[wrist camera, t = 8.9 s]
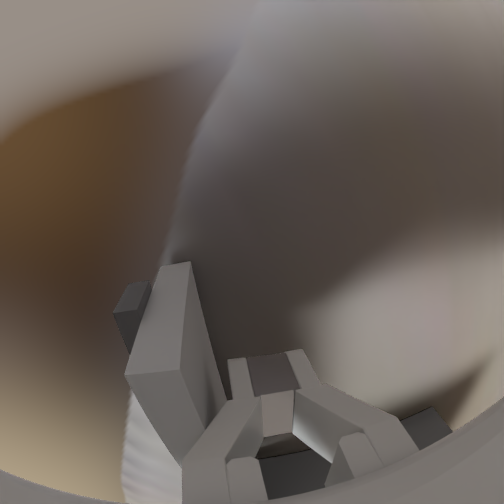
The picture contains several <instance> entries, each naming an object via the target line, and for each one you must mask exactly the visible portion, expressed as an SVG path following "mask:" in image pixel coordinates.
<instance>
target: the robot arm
mask: <svg viewBox="0 0 504 504" xmlns="http://www.w3.org/2000/svg"><path fill="white" fill-rule="evenodd" d="M227 363H228V371H229V378H230V385H231V392H232V399H233V400H227V401H226V403H225V404H224V406H223V407H222V408H221V410H220V411H219V412H218V414H217V415H216V417H215V418H214V419H213V421H212V422H211V423H210V425H209V426H208V427H207V429H206V430H205V431H204V433H203V434H202V435H201V437H200V438H199V439H198V441H197V442H196V443H195V445H194V446H193V447H192V448H191V450H190V451H189V452H188V454H187V455H186V456H185V457H184V459H183V460H182V504H504V397H503V398H501V399H500V400H499V401H497V402H496V403H495V404H494V405H492V406H491V407H490V408H488V409H487V410H485V411H484V412H483V413H481V414H480V415H478V416H477V417H476V418H474V419H473V420H471V421H470V422H468V423H467V424H465V425H464V426H462V427H460V428H459V429H457V430H456V431H454V432H452V433H451V434H449V435H447V436H446V437H444V438H442V439H440V440H439V441H437V442H435V443H433V444H431V445H430V446H428V447H426V448H424V449H422V450H419V449H418V447H417V446H416V444H415V443H414V441H413V440H412V438H411V437H410V435H409V434H408V433H407V431H406V430H405V428H404V427H403V425H402V424H401V422H400V421H399V419H398V418H397V417H396V416H394V415H391V414H389V413H387V412H385V411H382V410H380V409H378V408H376V407H374V406H371V405H369V404H367V403H365V402H363V401H361V400H359V399H357V398H354V397H352V396H350V395H348V394H346V393H344V392H342V391H340V390H338V389H336V388H334V387H332V386H330V385H328V384H322V385H321V383H320V381H319V379H318V377H317V375H316V374H315V372H314V370H313V368H312V366H311V364H310V362H309V360H308V358H307V356H306V354H305V352H304V350H302V349H296V350H291V351H286V352H283V353H276V354H268V355H260V356H252V357H246V359H245V357H244V358H235V359H228V361H227ZM291 432H293V434H294V435H295V436H296V437H298V438H299V439H300V440H301V441H303V442H304V443H305V444H306V445H308V446H309V447H310V448H312V449H313V450H314V451H316V452H317V453H318V454H320V455H321V456H322V457H324V458H325V459H326V460H328V461H329V462H330V463H332V465H331V467H330V470H329V473H328V476H327V479H326V481H325V484H324V485H325V488H321V489H318V490H314V491H310V492H306V493H302V494H297V495H293V496H288V497H283V498H278V499H272V500H268V497H267V493H266V489H265V485H264V481H263V477H262V473H261V469H260V464H259V460H257V459H255V457H256V455H257V452H258V450H259V448H260V446H261V444H262V442H263V439H264V437H268V436H273V435H279V434H285V433H291ZM0 504H127V503H119V502H112V501H106V500H100V499H95V498H90V497H84V496H80V495H76V494H72V493H68V492H64V491H60V490H56V489H53V488H49V487H46V486H43V485H40V484H37V483H34V482H31V481H28V480H25V479H23V478H20V477H17V476H15V475H12V474H10V473H8V472H5V471H3V470H1V469H0Z"/></svg>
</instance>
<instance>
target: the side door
mask: <svg viewBox="0 0 504 504" xmlns="http://www.w3.org/2000/svg"><path fill="white" fill-rule="evenodd" d="M113 315H114V318H115V320H116V323H117V325H118V328H119V330H120V333H121V335H122V338H123V340H124V342H125V345H126V347H127V349H128V352H129V354H130V358H129V361H128V364H127V368H126V371H125V374H124V375H125V377H126V379H127V381H128V383H129V385H130V387H131V389H132V391H133V393H134V394H135V396H136V398H137V400H138V402H139V403H140V405H141V407H142V409H143V410H144V412H145V414H146V415H147V417H148V419H149V420H150V422H151V424H152V425H153V427H154V429H155V430H156V432H157V433H158V435H159V436H160V438H161V440H162V441H163V443H164V444H165V446H166V447H167V449H168V450H169V452H170V453H171V454H172V456H173V457H174V459H175V460H176V462H177V463H178V464H179V466H180V467H181V468H182V460H183V459H184V457H185V456H186V455H187V454H188V452H189V451H190V450H191V448H192V447H193V446H194V445H195V443H196V442H197V441H198V439H199V438H200V437H201V435H202V434H203V433H204V431H205V430H206V429H207V427H208V426H209V425H210V423H211V422H212V421H213V419H214V418H215V417H216V415H217V414H218V412H219V411H220V410H221V408H222V407H223V406H224V404H225V403H226V401H227V398H226V395H225V392H224V389H223V385H222V382H221V378H220V375H219V371H218V368H217V364H216V361H215V357H214V354H213V350H212V346H211V343H210V339H209V335H208V331H207V328H206V324H205V320H204V316H203V312H202V308H201V304H200V300H199V295H198V291H197V287H196V283H195V278H194V274H193V270H192V265H191V261H188V262H183V263H177V264H172V265H166V266H161V268H160V270H159V273H158V275H157V278H156V281H155V283H154V286H153V289H151V285H150V282H149V280H147V281H142V282H136V283H130V284H128V286H127V288H126V290H125V291H124V293H123V295H122V297H121V299H120V300H119V302H118V304H117V306H116V308H115V310H114V312H113ZM255 459H257V457H255Z"/></svg>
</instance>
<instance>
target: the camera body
mask: <svg viewBox="0 0 504 504" xmlns="http://www.w3.org/2000/svg"><path fill="white" fill-rule="evenodd" d="M400 422H401V424H402V425H403V427H404V428H405V430H406V431H407V433H408V434H409V435H410V437H411V438H412V440H413V441H414V443H415V444H416V446H417V447H418V449H419V450H422V449H424V448H426V447H428V446H430V445H431V444H433V443H435V442H437V441H439V440H440V439H442V438H444V437H446V436H447V435H449V434H451V433H452V432H453V431H452V430H451V429H450V428H449V426H448V425H447V424H446V423H445V422H444V420H443V419H442V418H441V417H440V415H439V414H438V413H437V412H436V410H435V409H434V408H433V407H430V408H428V409H426V410H424V411H422V412H420V413H417V414H415V415H413V416H411V417H408V418H406V419H404V420H401V421H400ZM259 464H260V469H261V473H262V477H263V481H264V485H265V489H266V493H267V497H268V500H272V499H278V498H283V497H288V496H293V495H297V494H302V493H306V492H310V491H314V490H318V489H321V488H325V485H324V484H325V481H326V479H327V476H328V473H329V470H330V467H331V465H332V463H330V462H329V461H328V460H326V459H325V458H324V457H322V456H321V455H320V454H318V453H317V452H316V451H314V450H313V449H311V450H307V451H303V452H298V453H293V454H288V455H283V456H278V457H272V458H266V459H259Z"/></svg>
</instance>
